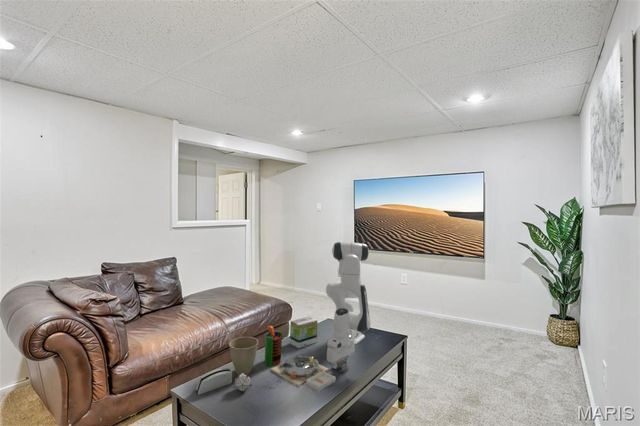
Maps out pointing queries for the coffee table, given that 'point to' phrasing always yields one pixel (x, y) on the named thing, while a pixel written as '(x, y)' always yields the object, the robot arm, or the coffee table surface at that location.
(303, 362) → the sprocket
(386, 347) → the coffee table surface
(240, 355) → the plant pot
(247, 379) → the game die
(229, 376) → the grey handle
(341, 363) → the gray banded block
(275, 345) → the motor
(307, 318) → the tea box
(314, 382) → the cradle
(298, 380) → the sprocket base
